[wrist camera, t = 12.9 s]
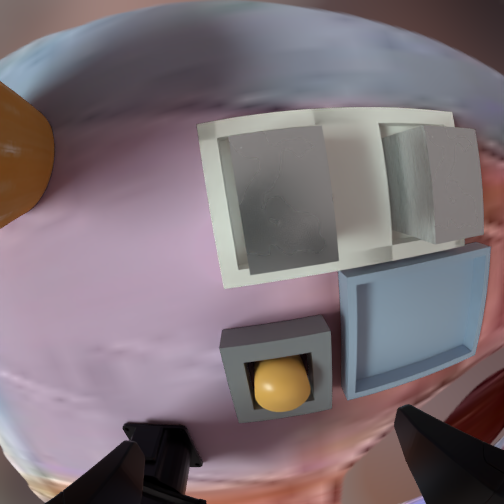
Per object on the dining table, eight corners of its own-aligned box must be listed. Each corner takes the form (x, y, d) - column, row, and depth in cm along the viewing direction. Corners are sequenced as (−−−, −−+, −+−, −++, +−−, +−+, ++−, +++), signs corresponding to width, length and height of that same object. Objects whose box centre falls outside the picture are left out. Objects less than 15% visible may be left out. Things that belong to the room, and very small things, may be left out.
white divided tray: (447, 243, 19) (464, 249, 17) (227, 281, 19) (224, 292, 17) (434, 114, 17) (451, 108, 14) (201, 127, 17) (195, 120, 15)
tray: (464, 345, 21) (474, 354, 19) (341, 386, 21) (347, 400, 19) (476, 241, 19) (490, 246, 17) (337, 269, 19) (346, 277, 17)
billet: (437, 222, 17) (483, 234, 12) (392, 229, 17) (435, 244, 12) (428, 137, 16) (474, 129, 11) (381, 137, 16) (423, 125, 11)
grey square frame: (324, 389, 21) (332, 408, 19) (239, 402, 21) (239, 423, 19) (321, 314, 20) (330, 330, 17) (222, 330, 20) (219, 348, 17)
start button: (304, 381, 20) (311, 407, 17) (257, 389, 20) (259, 415, 17) (301, 343, 19) (309, 367, 17) (250, 351, 20) (250, 376, 17)
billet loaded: (314, 240, 17) (338, 261, 13) (249, 250, 18) (250, 275, 13) (300, 142, 16) (321, 125, 11) (233, 151, 16) (228, 136, 11)
